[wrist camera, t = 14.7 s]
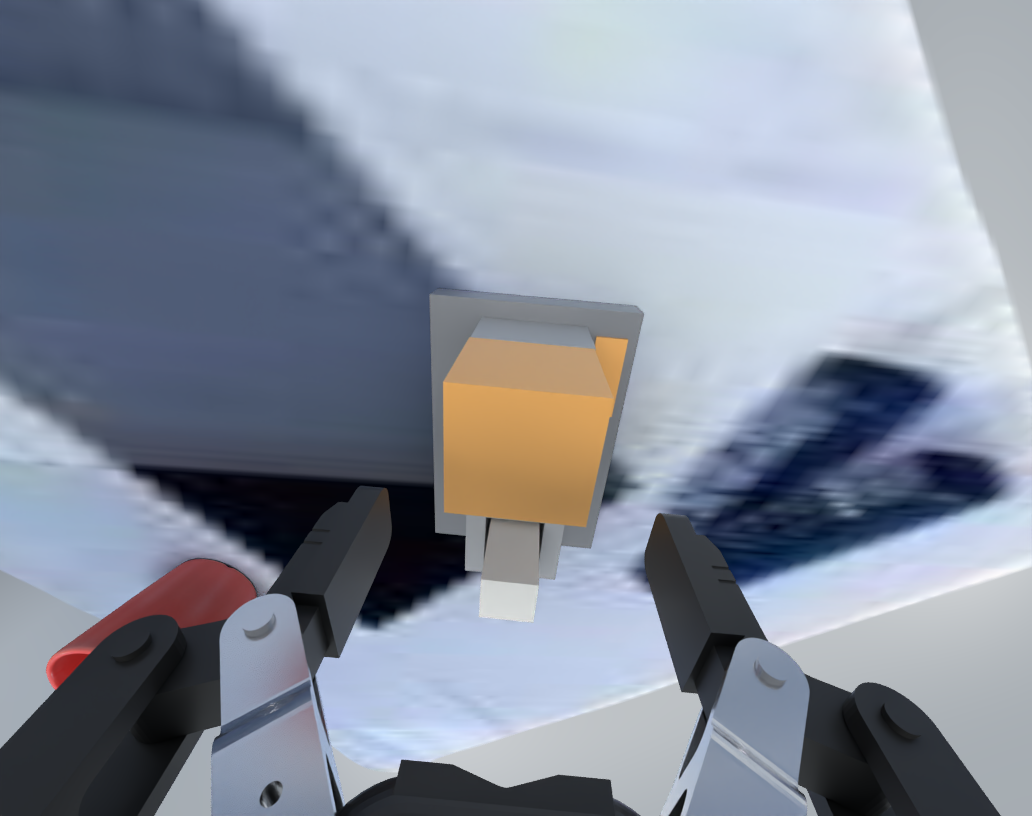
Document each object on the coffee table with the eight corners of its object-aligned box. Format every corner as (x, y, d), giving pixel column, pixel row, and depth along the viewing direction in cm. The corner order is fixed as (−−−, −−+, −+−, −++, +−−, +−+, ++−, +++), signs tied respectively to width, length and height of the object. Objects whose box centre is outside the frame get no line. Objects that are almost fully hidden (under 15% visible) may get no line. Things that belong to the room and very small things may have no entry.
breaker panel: (438, 288, 23) (407, 310, 18) (636, 305, 23) (664, 333, 18) (441, 514, 32) (421, 575, 26) (588, 529, 31) (597, 594, 26)
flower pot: (236, 538, 34) (133, 648, 26) (292, 617, 39) (221, 733, 30) (137, 550, 36) (8, 658, 27) (203, 625, 41) (111, 737, 32)
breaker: (492, 507, 25) (480, 579, 20) (539, 511, 25) (538, 585, 20) (490, 541, 26) (478, 616, 21) (534, 545, 26) (533, 622, 21)
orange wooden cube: (469, 337, 18) (443, 381, 14) (594, 349, 18) (613, 398, 13) (466, 443, 21) (443, 512, 16) (575, 454, 21) (585, 527, 16)
